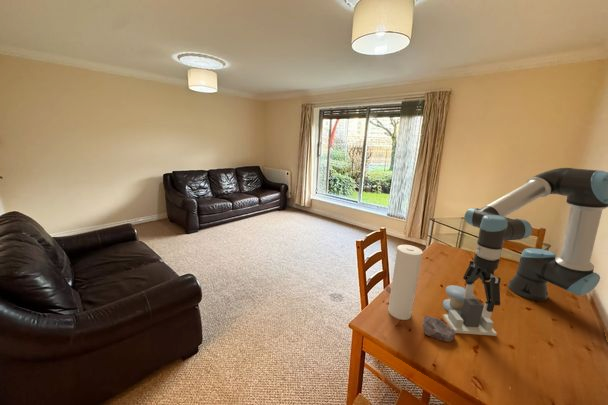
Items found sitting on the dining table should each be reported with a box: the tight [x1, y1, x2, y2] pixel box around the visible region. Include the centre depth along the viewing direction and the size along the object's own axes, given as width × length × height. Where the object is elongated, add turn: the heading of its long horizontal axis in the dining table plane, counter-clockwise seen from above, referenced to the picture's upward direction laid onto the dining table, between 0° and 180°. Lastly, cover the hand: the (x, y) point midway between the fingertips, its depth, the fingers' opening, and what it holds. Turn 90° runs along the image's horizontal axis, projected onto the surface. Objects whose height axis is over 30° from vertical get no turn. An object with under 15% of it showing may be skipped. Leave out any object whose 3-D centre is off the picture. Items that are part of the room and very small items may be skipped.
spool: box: [442, 284, 476, 316], centre depth 110 cm, size 11×11×8 cm
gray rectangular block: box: [461, 298, 484, 327], centre depth 99 cm, size 5×4×10 cm
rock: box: [422, 315, 457, 343], centre depth 95 cm, size 8×11×5 cm
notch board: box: [442, 310, 497, 337], centre depth 100 cm, size 16×9×5 cm, turn 87°
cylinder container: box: [387, 244, 424, 321], centre depth 103 cm, size 9×9×30 cm
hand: (476, 307), depth 98 cm, fingers open, 11 cm apart
